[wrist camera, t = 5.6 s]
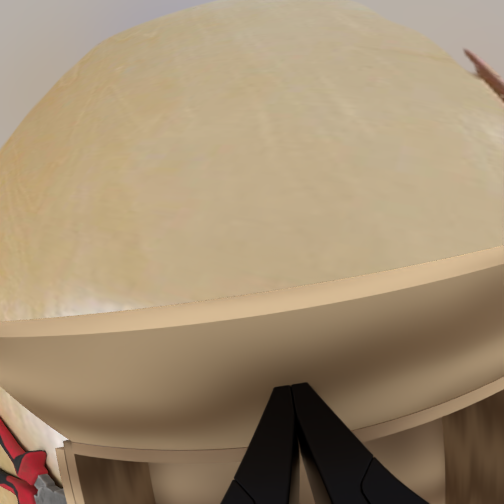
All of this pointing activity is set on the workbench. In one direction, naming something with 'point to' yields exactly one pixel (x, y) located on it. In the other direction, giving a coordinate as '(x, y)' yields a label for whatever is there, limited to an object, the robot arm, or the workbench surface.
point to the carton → (373, 437)
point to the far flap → (262, 356)
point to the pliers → (28, 474)
